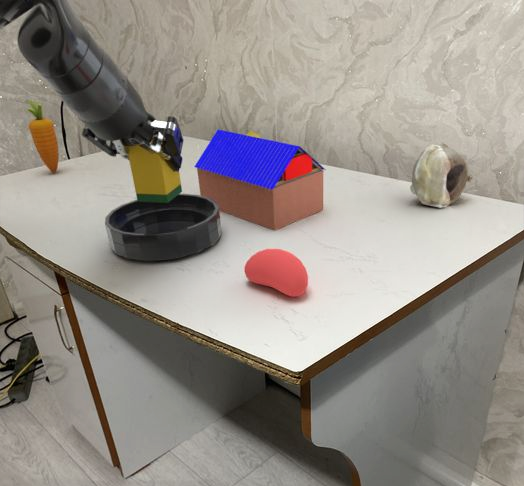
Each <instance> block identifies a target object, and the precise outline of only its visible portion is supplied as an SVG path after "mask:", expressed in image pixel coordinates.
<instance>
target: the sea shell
mask: <svg viewBox="0 0 524 486" xmlns="http://www.w3.org/2000/svg"><path fill="white" fill-rule="evenodd" d="M473 178H474V176H473V175H472V174H469V169H468V165H467V163H466V160H465V158H464V157H463V156H462V154H461V153H460V152H458V151H457V150H455V149H454V148H451V147H449V146H448V145H447V144H445V143H444V142H441V143H440V144H438V145H437V144H433V143H432V144H429V145H428V146H427V147H426V148H424V150H422V152H420V154H419V155H418V157H417V159H416V160H415V162H414V165H413V168H412V175H411V185H410V192H411V194H412V195H415V196H416V197H417V199H418V200H419V201H420V204H422V205H426V206H431V207H433V208H434V207H435V208H439V209H441V208H447V207H448V206H450V205H453V204H455V202H456V201H457V200H458V199H459V198H460V196H461V195H462V194H463V192H464V190H465V188H466V186H467V183H470V182H471V181H472V180H473Z"/></svg>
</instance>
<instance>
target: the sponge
mask: <svg viewBox="0 0 524 486" xmlns="http://www.w3.org/2000/svg"><path fill="white" fill-rule="evenodd" d="M150 144H151V143H150ZM161 148H162V149H164V144H163V143H162V142H161ZM128 150H129V152H128V156H129V160H128V161H129V165H130V172H131V176H132V180H133V186H134V191H135V195H136V200H138V202H159V203H168V202H170V201H171V200H172V199H173V198H175V197H176V196H177V195H179V194H182V193H183V188H182V187H183V186H182V182H181V181H182V180H181V174H180V170H179V171H178V172H174V171H173V170H172V169H171V168H170V166H169V165H168V164H167V163H166V162H165V160H164V159H163V158H162V157H161V156H159V155H158V154H156V153H155V154H150V153H149V152H148V151H146V150H145V149H143V148H142V147H140V146H137V145H136V146H128Z"/></svg>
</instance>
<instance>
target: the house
mask: <svg viewBox="0 0 524 486" xmlns="http://www.w3.org/2000/svg"><path fill="white" fill-rule="evenodd" d="M194 168H196V171H197V178H198V186H199V194H200V196H203V197H207V198H210V199H212V200H213V201H215V202H217V205H218V207H219V212H223V213H226V214H228V215H231V216H234V217H236V218H240V219H242V220H245V221H248V222H251V223H253V224H256V225H259V226H262V227H264V228H268V229H271V230H273V231H277V230H279V229H281V228H284V227H286V226H288V225H291V224H293V223H295V222H297V221H300V220H303V219H305V218H307V217H310V216H312V215H315V214H317V213H319V212H322V211H324V171H326V170H327V169H326V168H324V166H323V165H322V164H320V163H319V162H318V161H317V160H316V159H315V158H313V157H312V156H311V155H310V154H309V153H308V152H307V151H306V150H304V149H303V148H302V147H301V145H300V146H299V145H295V144H290V143H285V142H280V141H276V140H272V139H266V138H262V137H261V138H257V137H252V136H247V135H245V134H241V133H238V132H237V133H236V132H232V131H228V130H223V129H217V130H216V132H215V133H214V135H213V137H212V138H211V139H210V141H209V143H208V144H207V145H206V147H205V149H204V151H203V152H202V154H201V155H200V157H199V158H198V160H197V162H196V163H195V164H194Z"/></svg>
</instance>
